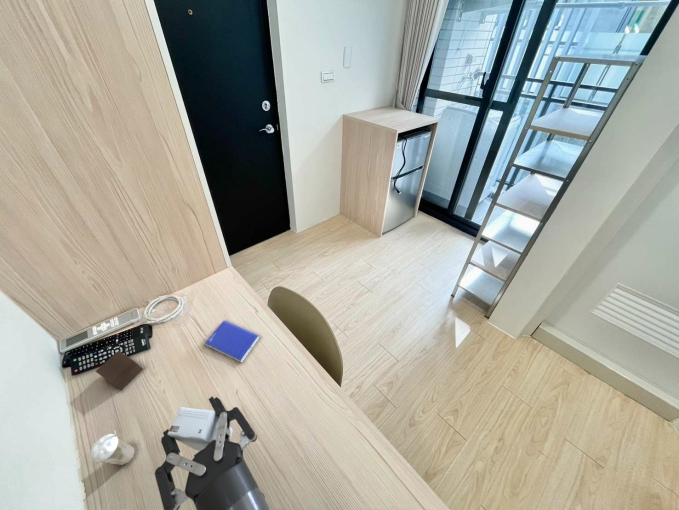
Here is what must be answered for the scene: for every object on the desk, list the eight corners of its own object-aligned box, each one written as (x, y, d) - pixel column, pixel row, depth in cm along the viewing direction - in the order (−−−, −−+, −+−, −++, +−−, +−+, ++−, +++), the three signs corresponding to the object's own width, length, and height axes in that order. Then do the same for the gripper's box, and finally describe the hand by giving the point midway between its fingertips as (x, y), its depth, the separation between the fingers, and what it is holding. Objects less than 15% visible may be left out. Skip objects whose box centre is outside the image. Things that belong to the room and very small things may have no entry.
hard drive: (204, 342, 76) (240, 360, 72) (224, 319, 81) (258, 335, 78) (206, 345, 77) (241, 362, 73) (225, 322, 82) (259, 337, 79)
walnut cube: (121, 390, 68) (110, 382, 64) (106, 379, 70) (94, 371, 66) (143, 369, 72) (133, 360, 68) (128, 359, 74) (118, 350, 70)
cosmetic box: (234, 428, 53) (216, 407, 45) (224, 456, 50) (203, 439, 42) (204, 425, 54) (180, 403, 45) (193, 452, 50) (165, 434, 42)
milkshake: (146, 447, 59) (121, 436, 53) (121, 473, 56) (91, 465, 49) (134, 434, 61) (108, 422, 54) (109, 460, 58) (79, 450, 51)
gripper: (276, 465, 38) (224, 377, 47) (170, 570, 31) (132, 443, 40) (283, 473, 43) (234, 393, 52) (193, 565, 36) (155, 454, 45)
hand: (190, 415), depth 46 cm, fingers closed on cosmetic box, 7 cm apart
